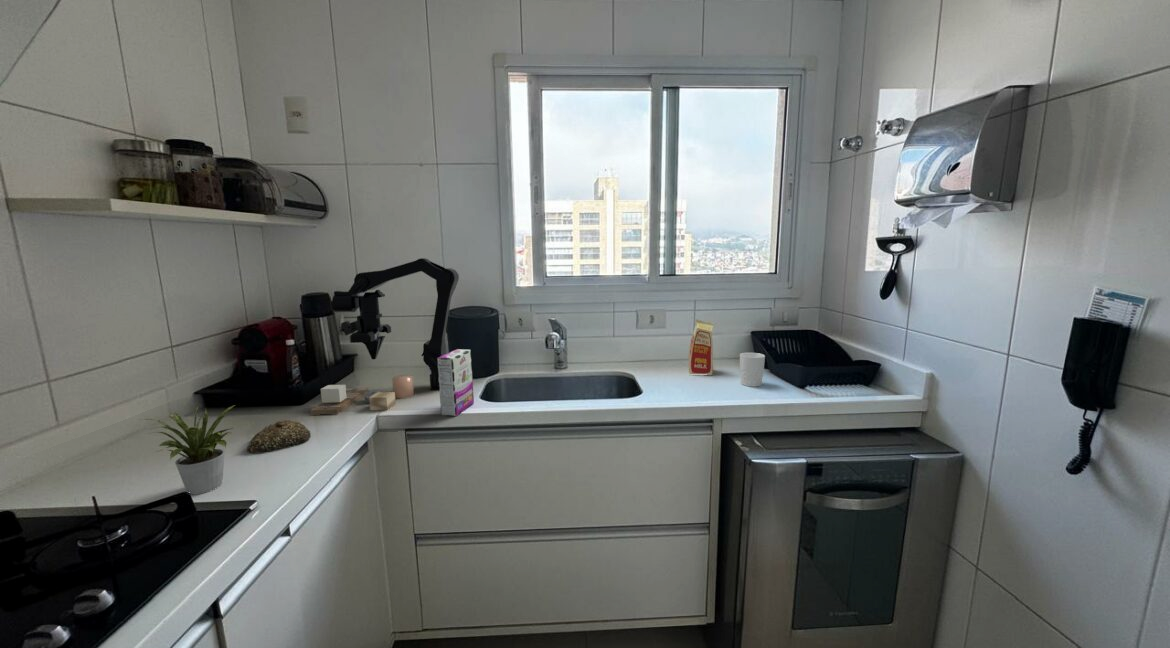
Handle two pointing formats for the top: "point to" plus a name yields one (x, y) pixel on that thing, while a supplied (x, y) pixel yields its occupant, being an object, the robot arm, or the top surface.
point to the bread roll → (279, 436)
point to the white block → (333, 393)
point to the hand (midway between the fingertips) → (374, 359)
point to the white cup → (751, 369)
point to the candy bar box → (455, 382)
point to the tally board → (337, 407)
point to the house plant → (198, 453)
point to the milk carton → (701, 349)
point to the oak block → (382, 401)
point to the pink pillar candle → (403, 386)
